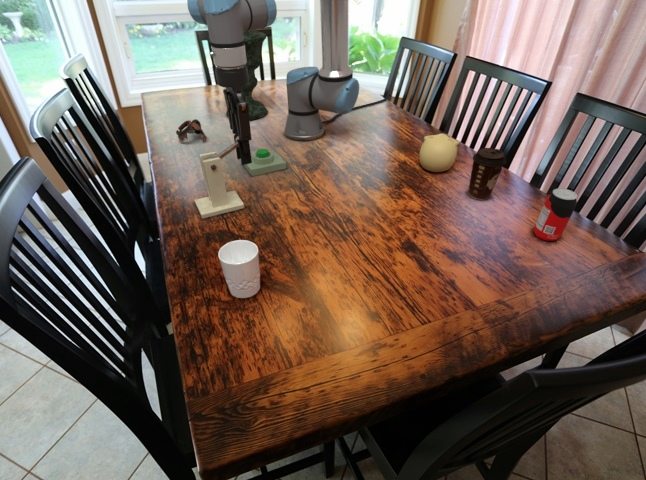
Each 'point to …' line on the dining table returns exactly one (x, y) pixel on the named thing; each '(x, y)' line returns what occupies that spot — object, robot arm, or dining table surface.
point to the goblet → (253, 56)
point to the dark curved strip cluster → (190, 129)
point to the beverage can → (555, 214)
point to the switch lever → (226, 150)
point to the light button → (262, 153)
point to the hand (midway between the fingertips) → (244, 160)
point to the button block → (265, 164)
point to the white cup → (241, 267)
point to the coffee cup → (485, 172)
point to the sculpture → (438, 152)
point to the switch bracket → (216, 190)
